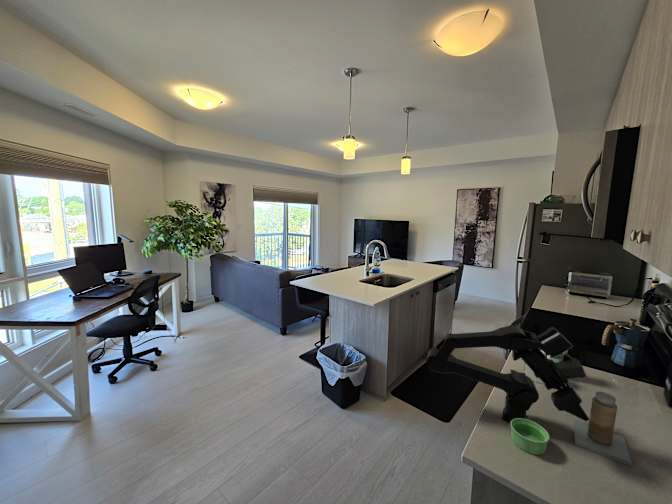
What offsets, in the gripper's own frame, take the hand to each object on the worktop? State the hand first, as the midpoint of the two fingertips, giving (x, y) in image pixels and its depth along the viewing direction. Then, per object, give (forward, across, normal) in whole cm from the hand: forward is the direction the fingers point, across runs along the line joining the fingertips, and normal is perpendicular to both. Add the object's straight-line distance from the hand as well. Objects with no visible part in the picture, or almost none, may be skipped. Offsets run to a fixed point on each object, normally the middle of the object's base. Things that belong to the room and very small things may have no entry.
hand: (581, 409), depth 80 cm
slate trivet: (+9, 0, +2) cm, 10 cm away
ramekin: (-3, -10, +16) cm, 19 cm away
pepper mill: (+8, 0, +2) cm, 9 cm away
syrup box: (+7, +37, +5) cm, 38 cm away
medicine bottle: (+2, +30, +10) cm, 32 cm away
